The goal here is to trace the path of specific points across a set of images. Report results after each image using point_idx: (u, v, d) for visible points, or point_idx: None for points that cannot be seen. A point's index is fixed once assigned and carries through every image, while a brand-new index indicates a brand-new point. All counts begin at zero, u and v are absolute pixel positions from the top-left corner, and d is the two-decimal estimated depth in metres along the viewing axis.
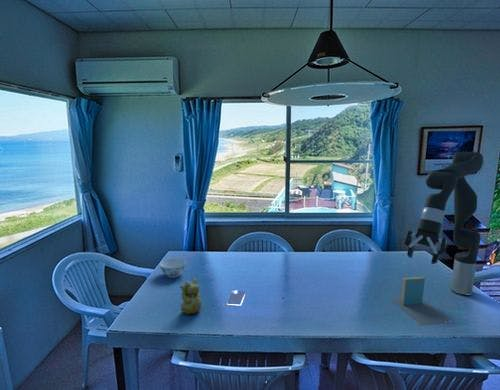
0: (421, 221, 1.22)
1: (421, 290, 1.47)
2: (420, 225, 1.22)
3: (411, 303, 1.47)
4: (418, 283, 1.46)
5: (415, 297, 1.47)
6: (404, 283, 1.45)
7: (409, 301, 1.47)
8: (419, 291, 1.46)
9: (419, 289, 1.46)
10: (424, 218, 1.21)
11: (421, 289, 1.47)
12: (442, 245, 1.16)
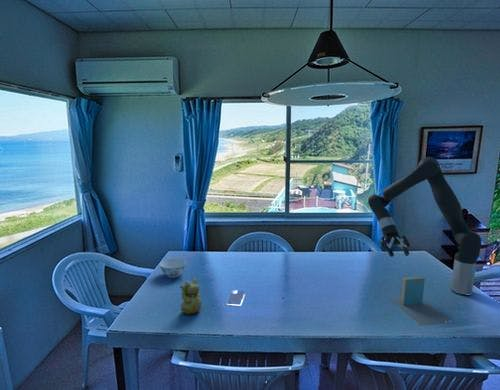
0: None
1: (421, 290, 1.47)
2: None
3: (411, 303, 1.47)
4: (418, 283, 1.46)
5: (415, 297, 1.47)
6: (404, 283, 1.45)
7: (409, 301, 1.47)
8: (419, 291, 1.46)
9: (419, 289, 1.46)
10: None
11: (421, 289, 1.47)
12: None
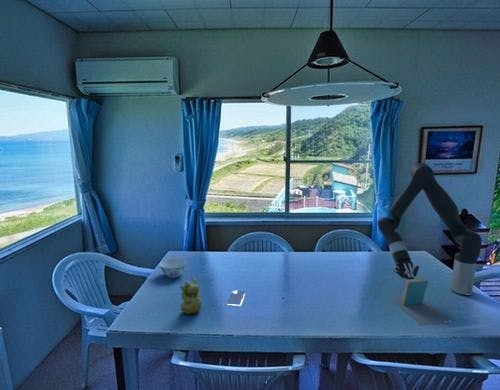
0: None
1: (423, 291, 1.46)
2: None
3: (411, 303, 1.47)
4: (421, 285, 1.44)
5: (416, 297, 1.46)
6: (406, 285, 1.44)
7: (409, 301, 1.46)
8: (420, 292, 1.45)
9: (421, 291, 1.45)
10: None
11: (423, 291, 1.45)
12: None
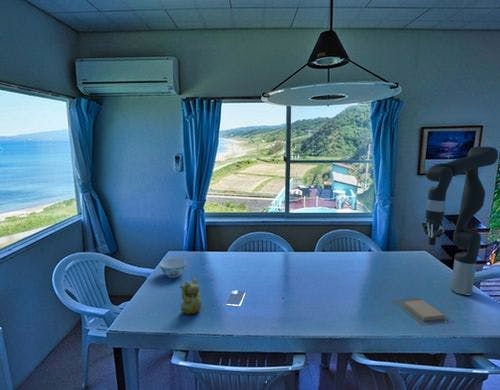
0: None
1: None
2: None
3: None
4: None
5: None
6: (419, 316, 1.36)
7: None
8: None
9: None
10: (426, 209, 1.45)
11: None
12: (437, 233, 1.42)
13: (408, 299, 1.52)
